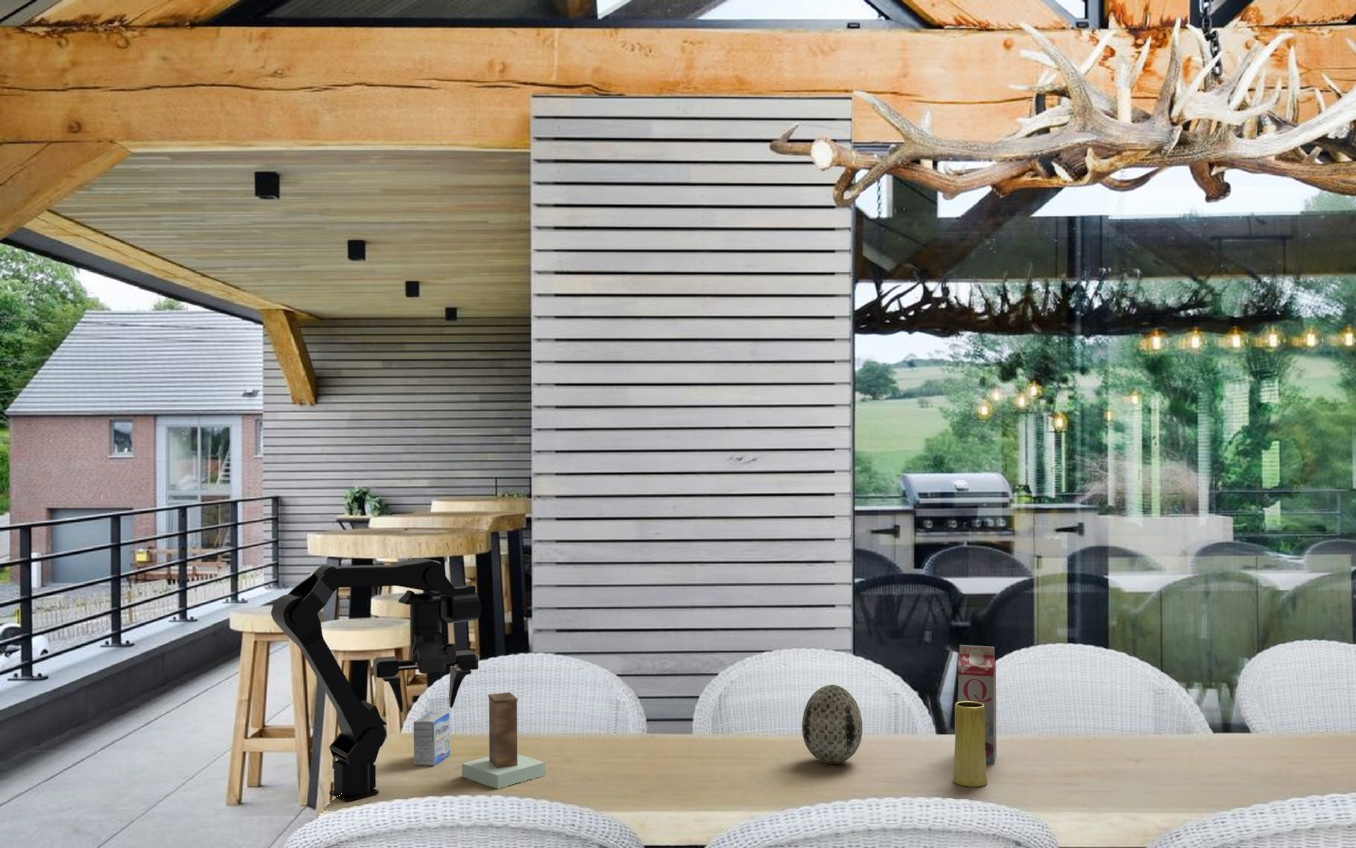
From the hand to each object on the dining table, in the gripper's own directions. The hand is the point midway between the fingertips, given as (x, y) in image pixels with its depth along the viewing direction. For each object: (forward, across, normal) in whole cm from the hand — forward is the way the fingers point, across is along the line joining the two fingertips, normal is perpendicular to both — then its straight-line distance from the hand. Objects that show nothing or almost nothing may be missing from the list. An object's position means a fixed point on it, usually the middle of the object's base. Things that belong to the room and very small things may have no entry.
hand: (426, 709), depth 218 cm
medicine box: (+13, +3, +12) cm, 18 cm away
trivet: (+13, +14, -4) cm, 19 cm away
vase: (+13, +92, -41) cm, 101 cm away
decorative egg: (+13, +75, -20) cm, 79 cm away
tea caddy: (+10, +14, -4) cm, 18 cm away
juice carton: (+13, +103, -29) cm, 107 cm away
